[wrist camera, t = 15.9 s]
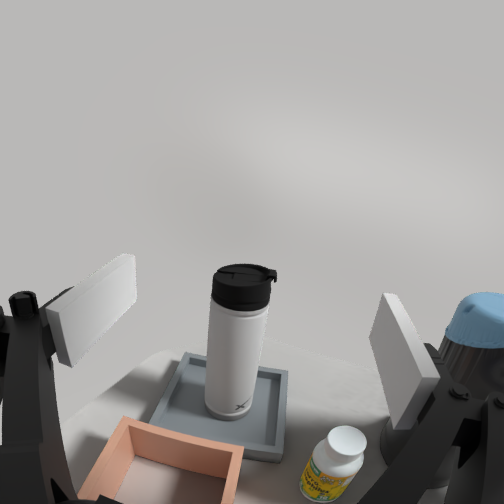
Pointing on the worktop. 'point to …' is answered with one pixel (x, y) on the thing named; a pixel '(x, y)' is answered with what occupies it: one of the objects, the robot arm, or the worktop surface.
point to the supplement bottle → (333, 464)
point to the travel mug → (236, 338)
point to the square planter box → (160, 457)
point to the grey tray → (231, 432)
